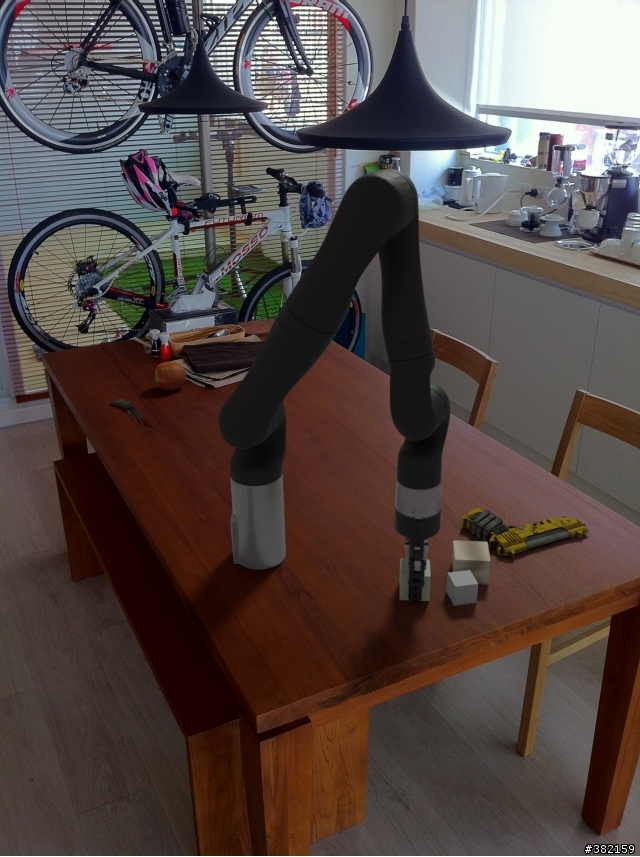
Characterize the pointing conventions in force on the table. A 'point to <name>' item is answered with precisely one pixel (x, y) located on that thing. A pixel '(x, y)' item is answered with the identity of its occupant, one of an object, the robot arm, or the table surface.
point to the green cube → (405, 586)
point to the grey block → (462, 587)
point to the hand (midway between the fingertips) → (414, 589)
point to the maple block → (472, 559)
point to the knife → (127, 407)
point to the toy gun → (519, 531)
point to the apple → (170, 375)
